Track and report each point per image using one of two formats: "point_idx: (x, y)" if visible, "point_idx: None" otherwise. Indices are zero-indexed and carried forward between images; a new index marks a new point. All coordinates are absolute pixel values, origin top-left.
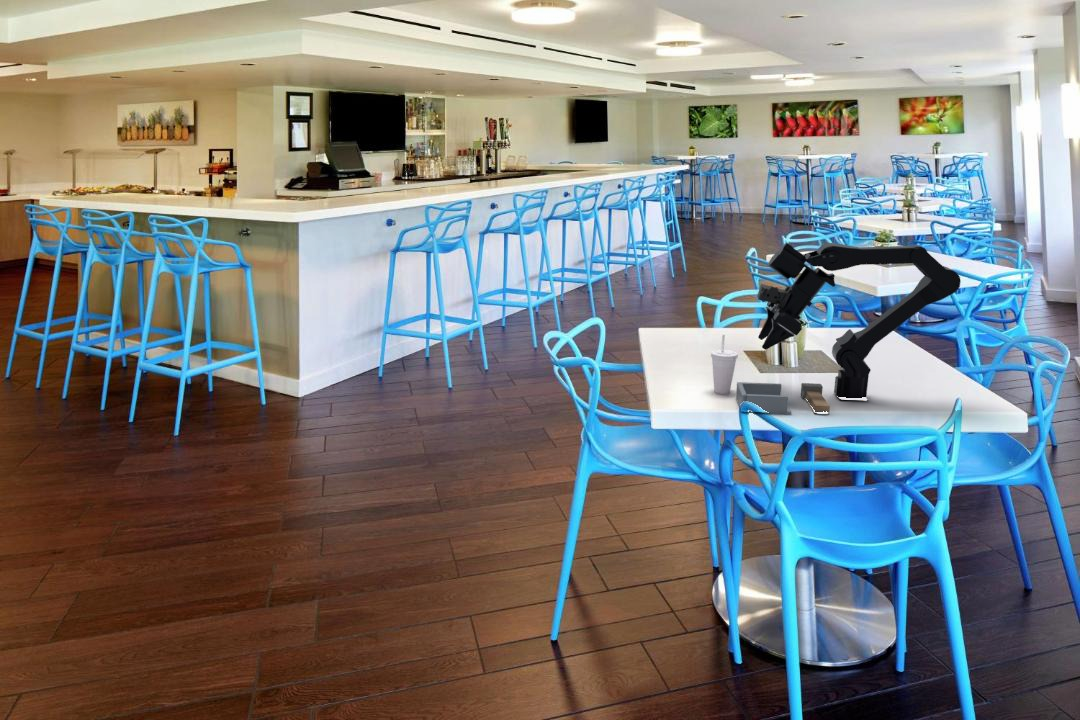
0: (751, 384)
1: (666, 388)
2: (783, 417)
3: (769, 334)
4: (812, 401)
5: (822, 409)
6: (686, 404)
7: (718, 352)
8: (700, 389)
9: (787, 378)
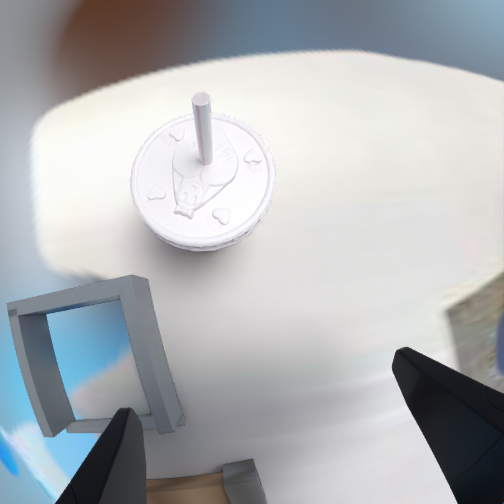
0: (128, 330)
1: (193, 85)
2: None
3: (68, 492)
4: None
5: None
6: (66, 158)
7: (187, 142)
8: None
9: None
